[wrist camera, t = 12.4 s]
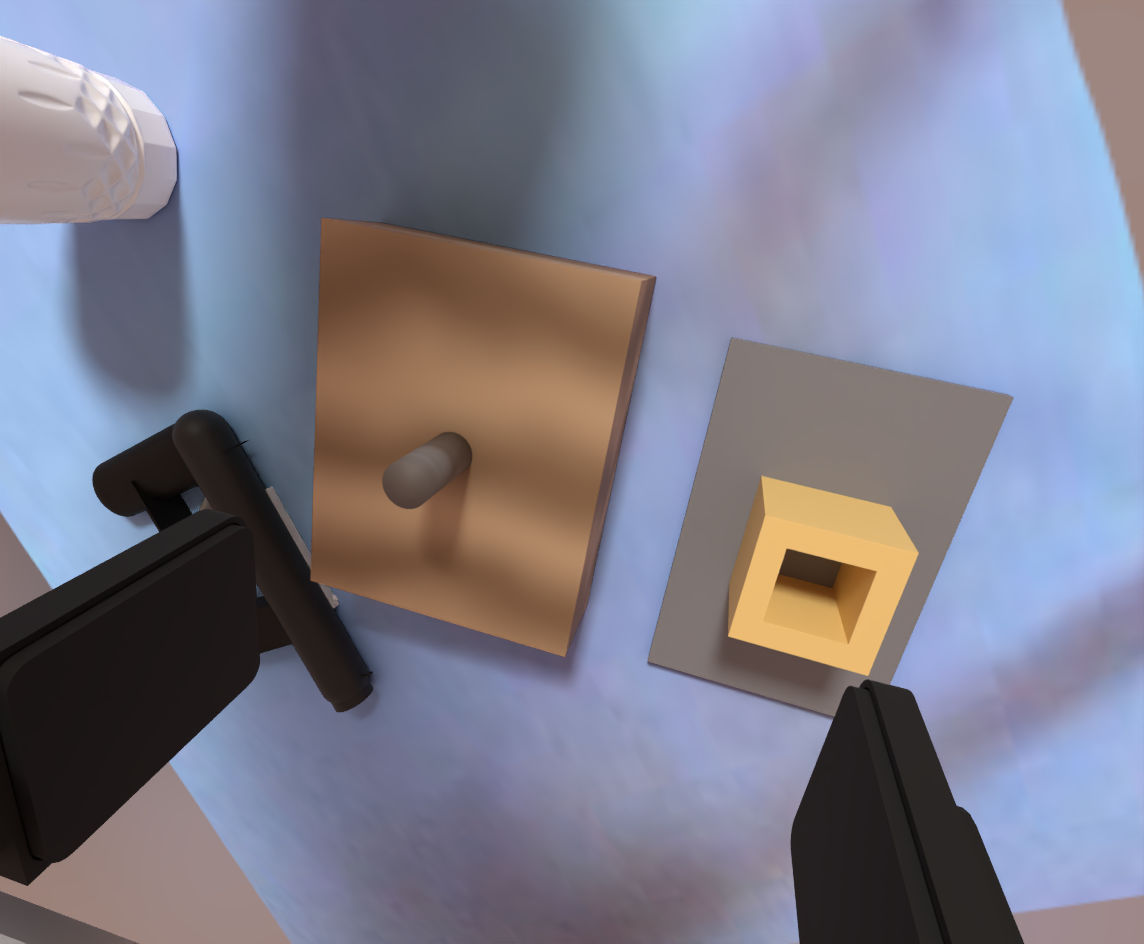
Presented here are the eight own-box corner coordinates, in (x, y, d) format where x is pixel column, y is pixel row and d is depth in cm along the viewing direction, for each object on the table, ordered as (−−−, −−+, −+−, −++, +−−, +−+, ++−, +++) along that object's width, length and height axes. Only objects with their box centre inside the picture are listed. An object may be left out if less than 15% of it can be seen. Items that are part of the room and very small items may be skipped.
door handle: (200, 746, 45) (372, 707, 39) (35, 492, 41) (196, 402, 35) (236, 714, 48) (401, 673, 42) (85, 474, 44) (242, 388, 38)
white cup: (211, 209, 34) (17, 194, 25) (102, 247, 36) (-112, 246, 27) (151, 44, 32) (-85, -40, 23) (39, 95, 34) (-215, 38, 25)
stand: (380, 222, 32) (247, 211, 23) (656, 276, 30) (622, 286, 21) (361, 541, 39) (251, 626, 30) (586, 605, 36) (539, 718, 28)
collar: (761, 475, 31) (765, 514, 26) (891, 506, 30) (918, 553, 25) (729, 582, 33) (728, 636, 29) (849, 615, 32) (868, 676, 28)
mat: (731, 337, 30) (731, 339, 29) (1007, 394, 28) (1013, 397, 27) (649, 655, 36) (647, 661, 36) (869, 719, 34) (871, 727, 34)
